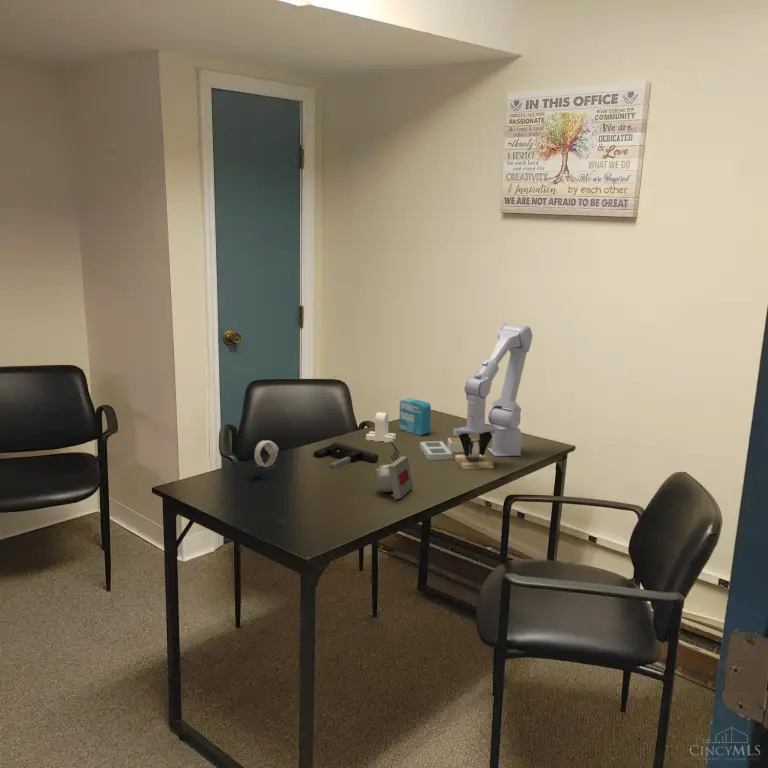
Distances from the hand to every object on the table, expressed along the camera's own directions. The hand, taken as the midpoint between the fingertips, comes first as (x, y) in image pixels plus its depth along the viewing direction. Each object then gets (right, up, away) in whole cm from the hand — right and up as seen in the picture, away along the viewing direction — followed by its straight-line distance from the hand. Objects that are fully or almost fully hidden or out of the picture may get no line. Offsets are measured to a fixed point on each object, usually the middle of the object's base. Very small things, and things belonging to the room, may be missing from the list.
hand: (474, 455), depth 233 cm
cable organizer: (-30, +3, +25) cm, 40 cm away
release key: (-4, +1, +15) cm, 15 cm away
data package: (-18, +5, +35) cm, 40 cm away
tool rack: (-12, 0, +11) cm, 16 cm away
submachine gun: (-43, -2, +3) cm, 43 cm away
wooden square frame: (0, -3, +1) cm, 3 cm away
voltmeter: (-26, -7, -19) cm, 33 cm away
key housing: (-4, 0, +15) cm, 15 cm away
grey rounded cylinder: (0, -3, +1) cm, 3 cm away
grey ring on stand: (-66, -5, -14) cm, 67 cm away
